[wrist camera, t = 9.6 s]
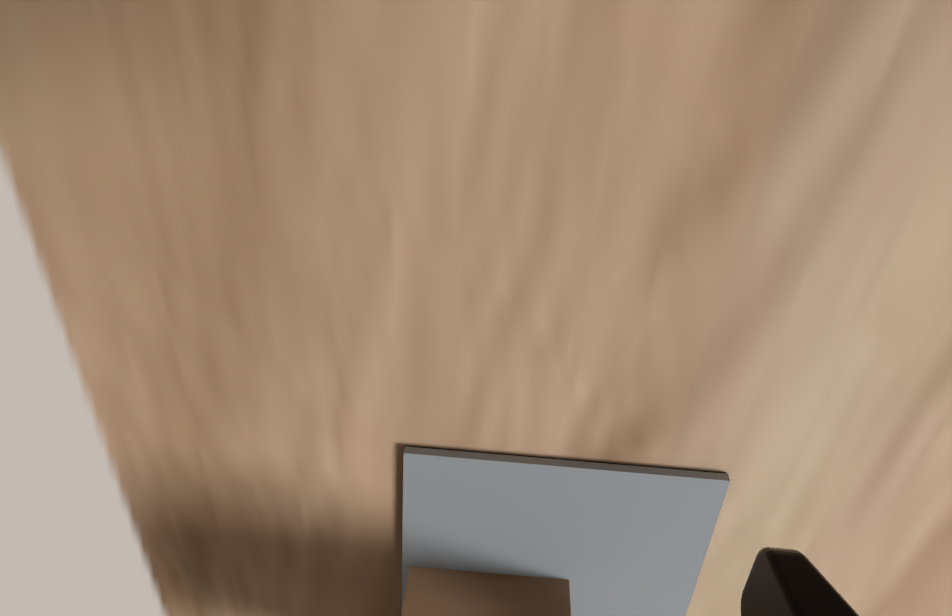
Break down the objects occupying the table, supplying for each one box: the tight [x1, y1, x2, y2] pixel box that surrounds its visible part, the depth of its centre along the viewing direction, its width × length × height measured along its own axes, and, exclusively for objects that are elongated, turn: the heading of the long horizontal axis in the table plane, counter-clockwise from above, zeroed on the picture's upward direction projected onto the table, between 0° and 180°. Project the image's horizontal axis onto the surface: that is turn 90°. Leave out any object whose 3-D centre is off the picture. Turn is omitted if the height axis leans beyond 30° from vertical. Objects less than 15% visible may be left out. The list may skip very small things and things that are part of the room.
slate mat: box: [401, 446, 730, 616], centre depth 28 cm, size 10×12×1 cm
